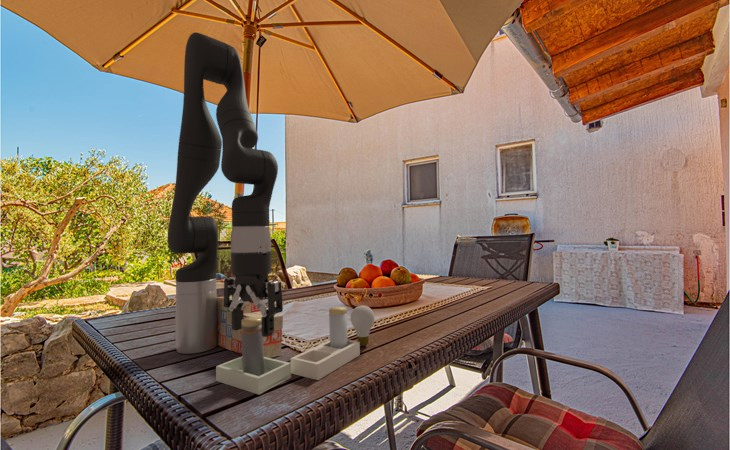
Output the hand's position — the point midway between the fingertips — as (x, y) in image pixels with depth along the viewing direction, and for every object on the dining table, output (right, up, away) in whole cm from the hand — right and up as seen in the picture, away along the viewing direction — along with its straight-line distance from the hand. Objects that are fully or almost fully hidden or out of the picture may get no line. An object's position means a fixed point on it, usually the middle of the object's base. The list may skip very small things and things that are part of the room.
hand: (252, 332), depth 67 cm
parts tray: (0, -9, 0) cm, 9 cm away
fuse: (+16, -9, +10) cm, 21 cm away
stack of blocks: (-7, -10, +17) cm, 21 cm away
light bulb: (+22, -9, +17) cm, 29 cm away
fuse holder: (+14, -9, +7) cm, 18 cm away
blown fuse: (0, -8, 0) cm, 8 cm away
